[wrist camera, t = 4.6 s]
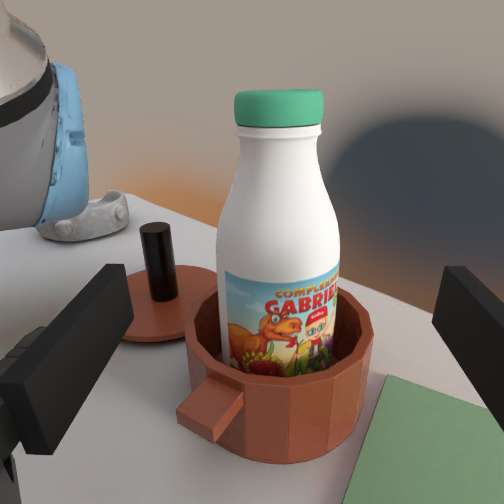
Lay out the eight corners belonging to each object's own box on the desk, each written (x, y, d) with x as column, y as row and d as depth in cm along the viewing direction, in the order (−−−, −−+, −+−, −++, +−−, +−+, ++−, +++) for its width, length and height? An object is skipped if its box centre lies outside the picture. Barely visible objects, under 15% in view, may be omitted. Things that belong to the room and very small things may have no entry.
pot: (126, 439, 23) (107, 364, 20) (262, 304, 37) (262, 249, 34) (304, 557, 17) (310, 473, 14) (387, 344, 31) (398, 280, 28)
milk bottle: (203, 387, 26) (171, 92, 18) (267, 335, 32) (266, 88, 23) (288, 449, 22) (298, 91, 13) (347, 376, 27) (382, 87, 19)
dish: (39, 222, 61) (30, 194, 59) (123, 209, 66) (118, 183, 64) (35, 254, 49) (25, 220, 47) (138, 235, 55) (133, 204, 52)
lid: (68, 319, 35) (44, 238, 31) (164, 264, 45) (154, 198, 42) (169, 368, 29) (154, 273, 25) (254, 291, 39) (252, 216, 35)
